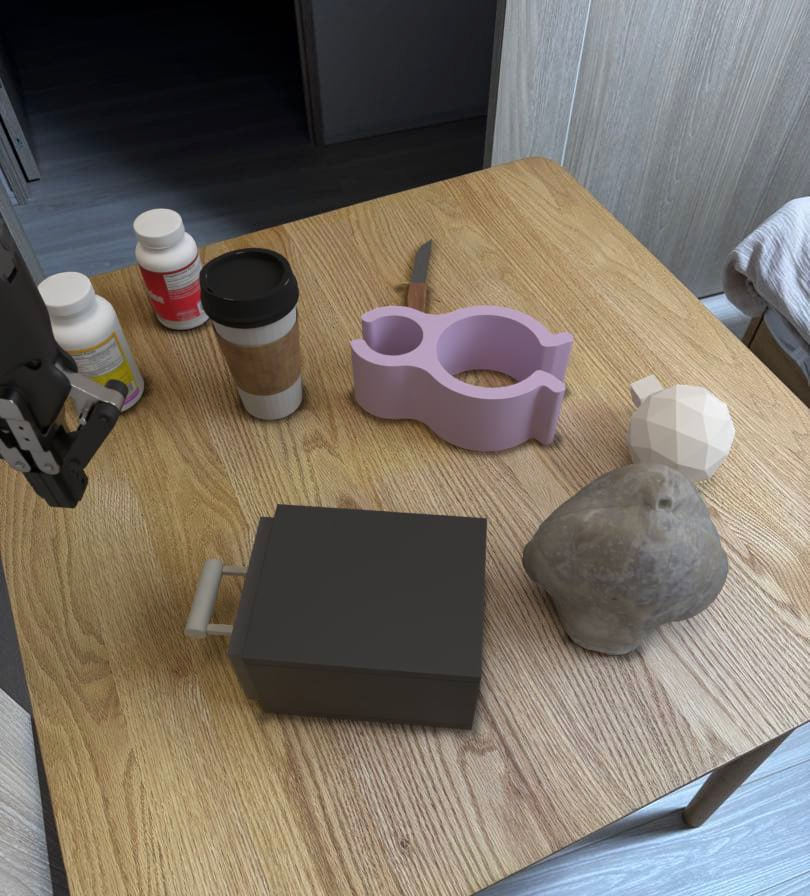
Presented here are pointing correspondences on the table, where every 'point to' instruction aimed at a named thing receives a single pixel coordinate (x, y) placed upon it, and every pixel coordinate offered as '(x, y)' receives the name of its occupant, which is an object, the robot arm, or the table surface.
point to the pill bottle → (170, 268)
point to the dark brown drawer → (207, 598)
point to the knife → (419, 279)
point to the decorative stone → (628, 557)
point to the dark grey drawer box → (370, 616)
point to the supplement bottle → (90, 332)
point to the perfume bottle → (679, 428)
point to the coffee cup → (256, 327)
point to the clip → (454, 351)
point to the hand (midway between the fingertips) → (69, 496)
